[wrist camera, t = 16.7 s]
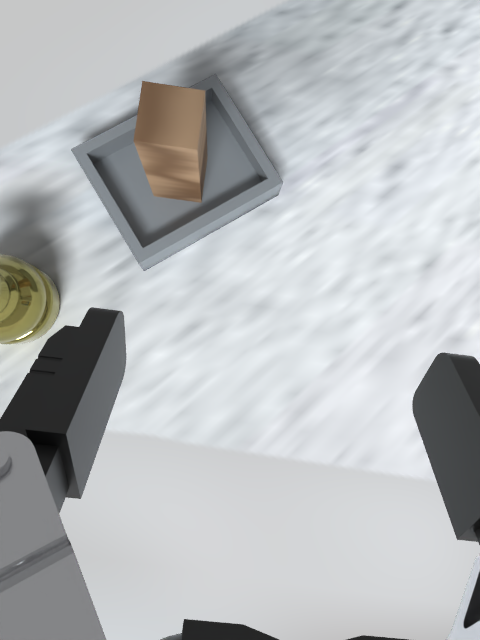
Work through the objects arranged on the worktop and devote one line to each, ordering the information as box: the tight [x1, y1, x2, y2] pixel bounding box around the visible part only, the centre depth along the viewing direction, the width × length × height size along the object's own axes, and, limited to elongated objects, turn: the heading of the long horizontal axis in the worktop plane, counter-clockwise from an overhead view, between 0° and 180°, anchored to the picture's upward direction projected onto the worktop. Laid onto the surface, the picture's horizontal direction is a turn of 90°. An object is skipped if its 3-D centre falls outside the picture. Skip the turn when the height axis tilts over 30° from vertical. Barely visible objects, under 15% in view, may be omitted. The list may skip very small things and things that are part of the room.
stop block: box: [133, 81, 207, 203], centre depth 35 cm, size 4×4×10 cm
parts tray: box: [71, 74, 283, 271], centre depth 39 cm, size 15×12×3 cm
